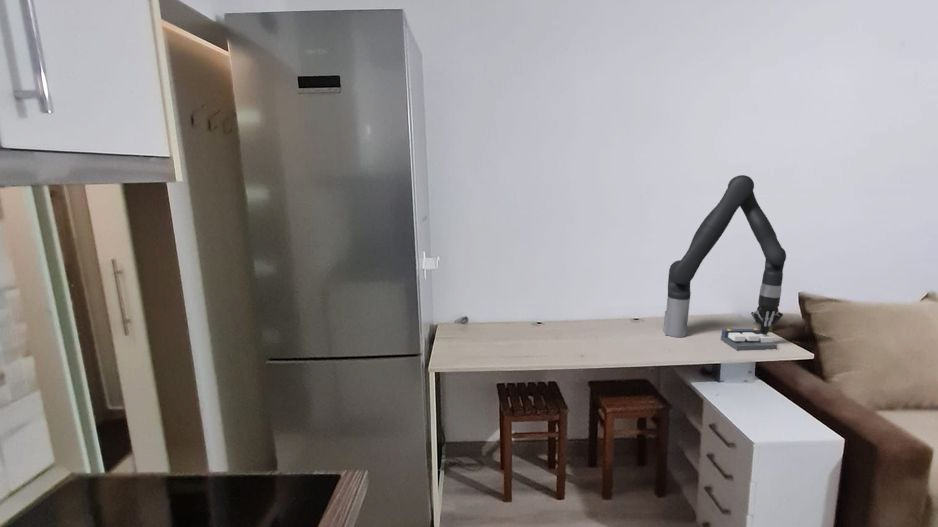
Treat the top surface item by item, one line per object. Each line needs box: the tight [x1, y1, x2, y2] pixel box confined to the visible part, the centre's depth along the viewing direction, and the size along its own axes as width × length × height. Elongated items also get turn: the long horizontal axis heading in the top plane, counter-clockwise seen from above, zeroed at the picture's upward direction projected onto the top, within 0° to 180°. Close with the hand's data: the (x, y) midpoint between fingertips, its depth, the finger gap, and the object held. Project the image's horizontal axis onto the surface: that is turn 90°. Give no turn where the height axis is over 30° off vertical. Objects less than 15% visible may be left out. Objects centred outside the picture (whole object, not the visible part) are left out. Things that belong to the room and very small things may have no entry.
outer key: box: [756, 333, 774, 343], centre depth 211 cm, size 5×5×2 cm
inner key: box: [728, 333, 746, 341], centre depth 210 cm, size 5×5×2 cm
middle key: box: [742, 332, 759, 341], centre depth 211 cm, size 5×5×2 cm
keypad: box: [720, 327, 778, 351], centre depth 212 cm, size 17×12×5 cm
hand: (764, 333), depth 211 cm, fingers closed
